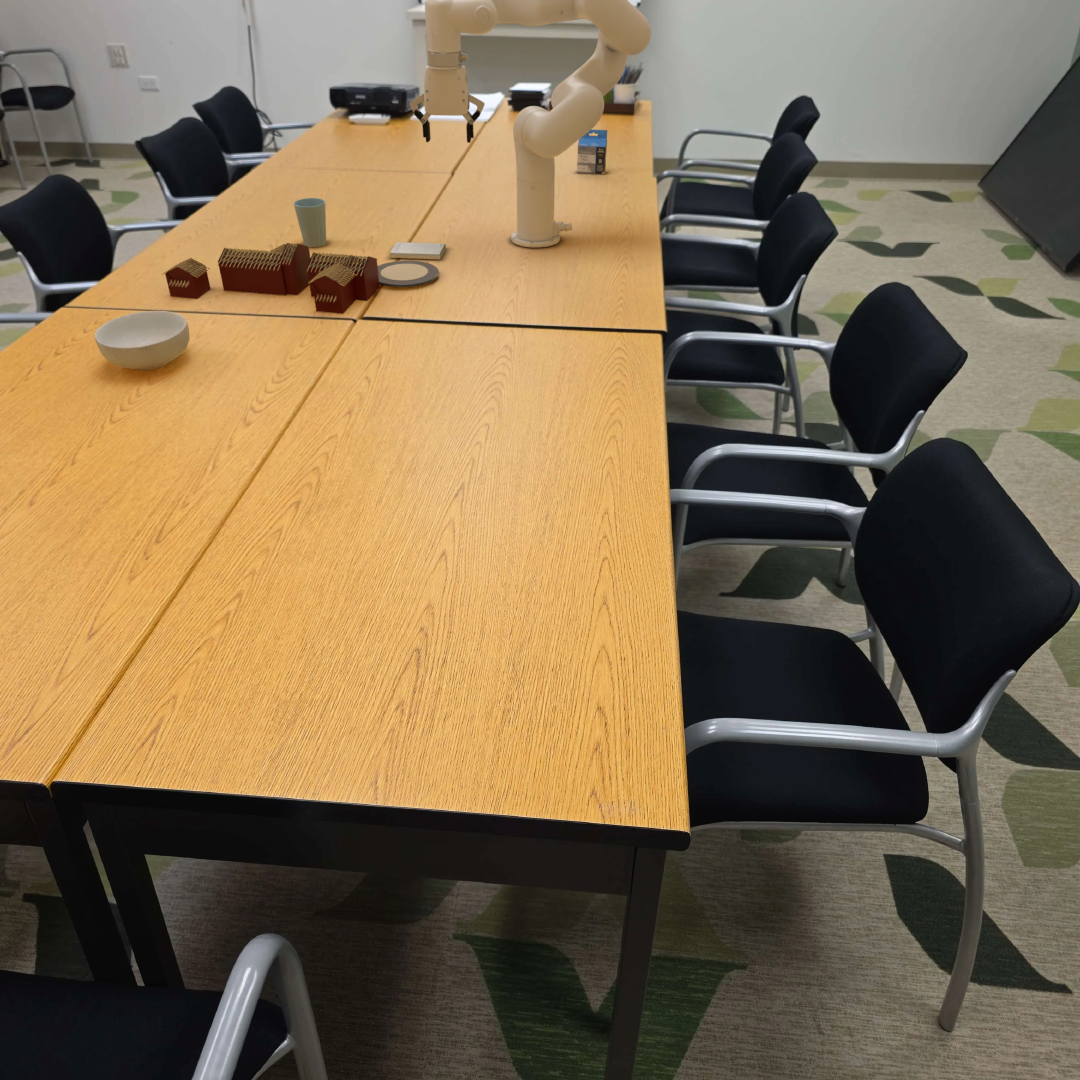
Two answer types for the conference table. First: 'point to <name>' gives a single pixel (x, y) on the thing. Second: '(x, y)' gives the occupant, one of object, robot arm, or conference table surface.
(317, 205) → the cup
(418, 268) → the plate
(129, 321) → the cereal bowl
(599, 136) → the ink cartridge box
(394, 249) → the hard drive
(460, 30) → the robot arm
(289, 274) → the toy houses
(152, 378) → the conference table surface
